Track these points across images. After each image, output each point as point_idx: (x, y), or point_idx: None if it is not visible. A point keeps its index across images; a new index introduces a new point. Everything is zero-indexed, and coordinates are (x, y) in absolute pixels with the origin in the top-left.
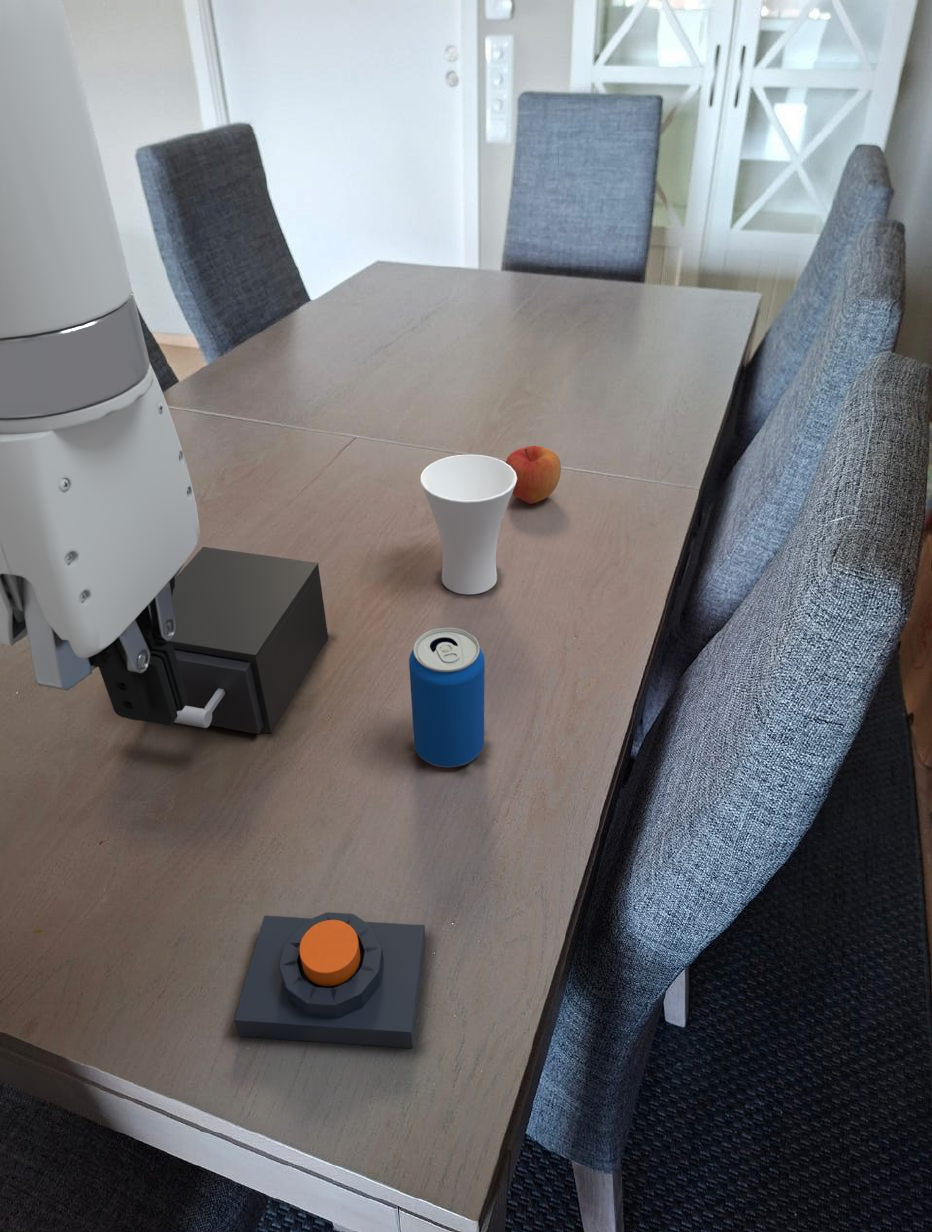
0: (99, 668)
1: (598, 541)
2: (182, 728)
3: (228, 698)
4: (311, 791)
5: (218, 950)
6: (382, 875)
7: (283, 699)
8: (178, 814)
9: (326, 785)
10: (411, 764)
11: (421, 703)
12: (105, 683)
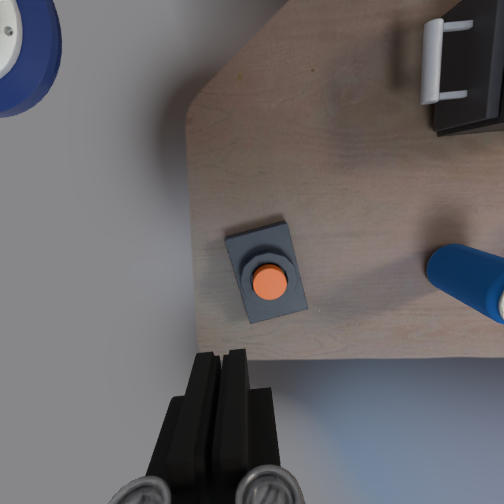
0: (176, 427)
1: None
2: None
3: (458, 101)
4: (389, 193)
5: (265, 198)
6: (338, 264)
7: (473, 132)
8: (349, 111)
9: (397, 201)
10: (426, 247)
11: (469, 275)
12: (185, 397)
